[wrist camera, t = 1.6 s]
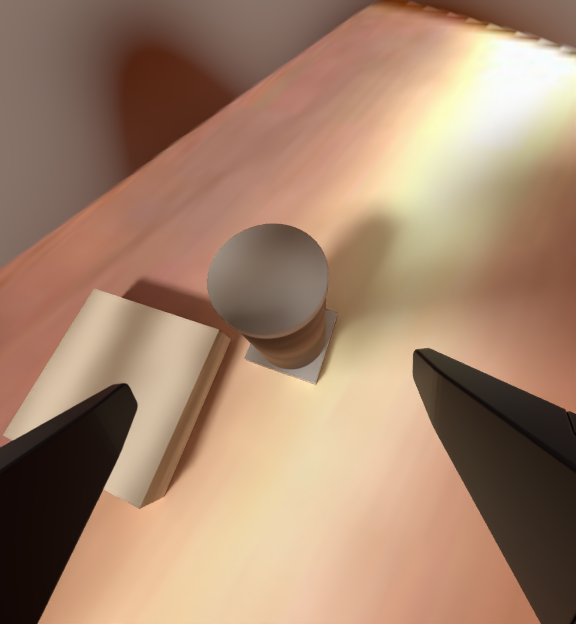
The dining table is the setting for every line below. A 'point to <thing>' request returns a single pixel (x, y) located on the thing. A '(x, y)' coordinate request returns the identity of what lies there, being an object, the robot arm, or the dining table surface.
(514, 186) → the dining table surface
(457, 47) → the dining table surface
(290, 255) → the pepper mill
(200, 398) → the birch block
